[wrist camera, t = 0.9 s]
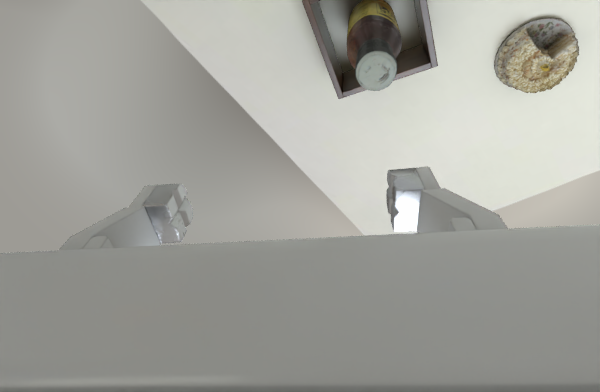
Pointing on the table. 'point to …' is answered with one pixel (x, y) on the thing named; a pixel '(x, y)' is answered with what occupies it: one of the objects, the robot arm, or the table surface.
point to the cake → (537, 55)
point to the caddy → (406, 60)
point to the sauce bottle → (373, 44)
